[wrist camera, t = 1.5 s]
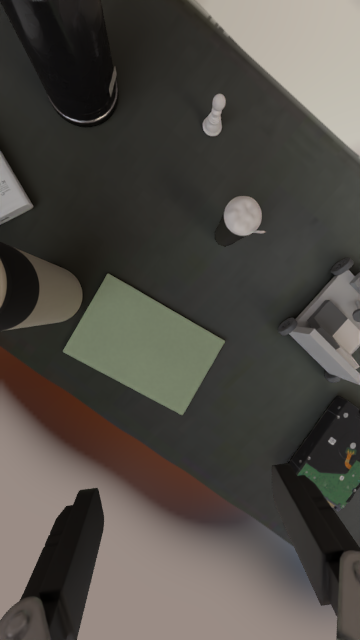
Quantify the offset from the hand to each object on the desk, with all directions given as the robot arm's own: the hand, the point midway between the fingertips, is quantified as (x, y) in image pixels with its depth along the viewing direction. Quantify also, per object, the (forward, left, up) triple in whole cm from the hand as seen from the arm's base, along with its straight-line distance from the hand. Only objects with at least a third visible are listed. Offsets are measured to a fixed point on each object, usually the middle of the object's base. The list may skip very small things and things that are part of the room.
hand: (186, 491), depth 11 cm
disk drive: (+26, +16, -26) cm, 40 cm away
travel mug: (-17, -9, -26) cm, 32 cm away
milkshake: (-12, +17, -26) cm, 34 cm away
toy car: (+7, +27, -26) cm, 39 cm away
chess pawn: (-27, +23, -26) cm, 44 cm away
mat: (-4, -1, -26) cm, 26 cm away
